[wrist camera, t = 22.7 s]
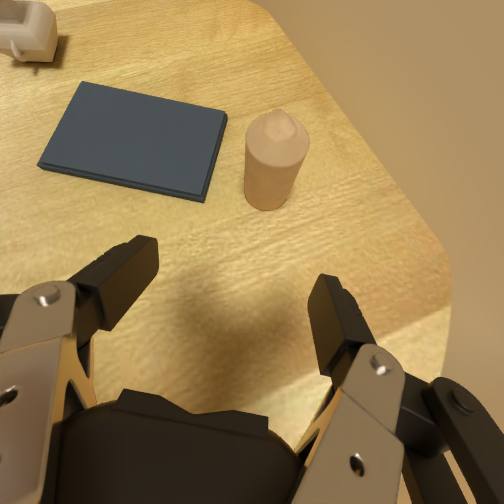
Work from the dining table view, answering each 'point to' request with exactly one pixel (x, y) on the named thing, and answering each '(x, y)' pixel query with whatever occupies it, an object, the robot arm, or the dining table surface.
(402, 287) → the dining table surface
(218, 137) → the dark grey rectangular slab
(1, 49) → the beige blocky piece
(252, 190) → the candle
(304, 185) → the dining table surface
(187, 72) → the dining table surface
